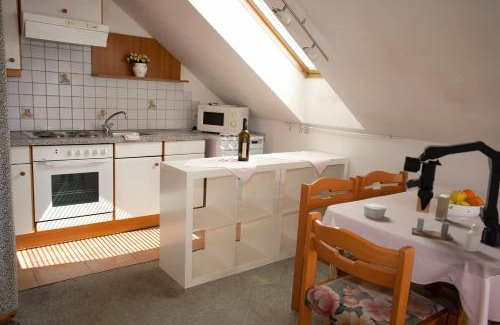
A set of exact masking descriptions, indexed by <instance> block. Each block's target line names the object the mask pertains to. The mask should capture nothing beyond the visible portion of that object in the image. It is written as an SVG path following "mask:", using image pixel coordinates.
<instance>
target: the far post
mask: <svg viewBox="0 0 500 325" xmlns="http://www.w3.org/2000/svg"><path fill="white" fill-rule="evenodd" d="M424 225H425V218H421V217H417V223H416V227H415V228H416V231H418V232H423V229H424Z"/></svg>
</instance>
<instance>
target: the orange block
mask: <svg viewBox="0 0 500 325" xmlns="http://www.w3.org/2000/svg"><path fill="white" fill-rule="evenodd" d="M416 201H417V202H416V208H415V212H416V213H417V212H418V213H424V214H429V212H430V206H431V201H430V202H429V204H428V205H427V207H426V208H425V210H424V211H423V210H421V199H420V198H419V197H418V196H417V200H416Z"/></svg>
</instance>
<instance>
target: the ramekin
mask: <svg viewBox="0 0 500 325" xmlns="http://www.w3.org/2000/svg"><path fill="white" fill-rule="evenodd" d="M386 211H387V206H386V205H384V204H382V203H377V202H376V203H375V202H364V203H363V215H364V216H365V217H368V218H370V219H376V218H377V219H383V218H384V217H385V214H386ZM377 219H376V220H377Z"/></svg>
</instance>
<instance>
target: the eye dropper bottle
mask: <svg viewBox="0 0 500 325" xmlns="http://www.w3.org/2000/svg"><path fill="white" fill-rule="evenodd" d="M481 236H482V231H481V232H480V226H479V224H478V222H477V221H475V222H474V224H472V225H471V229H470V230H469V231H468V232H467V233H466V238H465V244H464V250H465V251H467V252H468V253H476V252H479V250H480V246H481V245H480V244H481V242H480V240H481Z"/></svg>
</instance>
